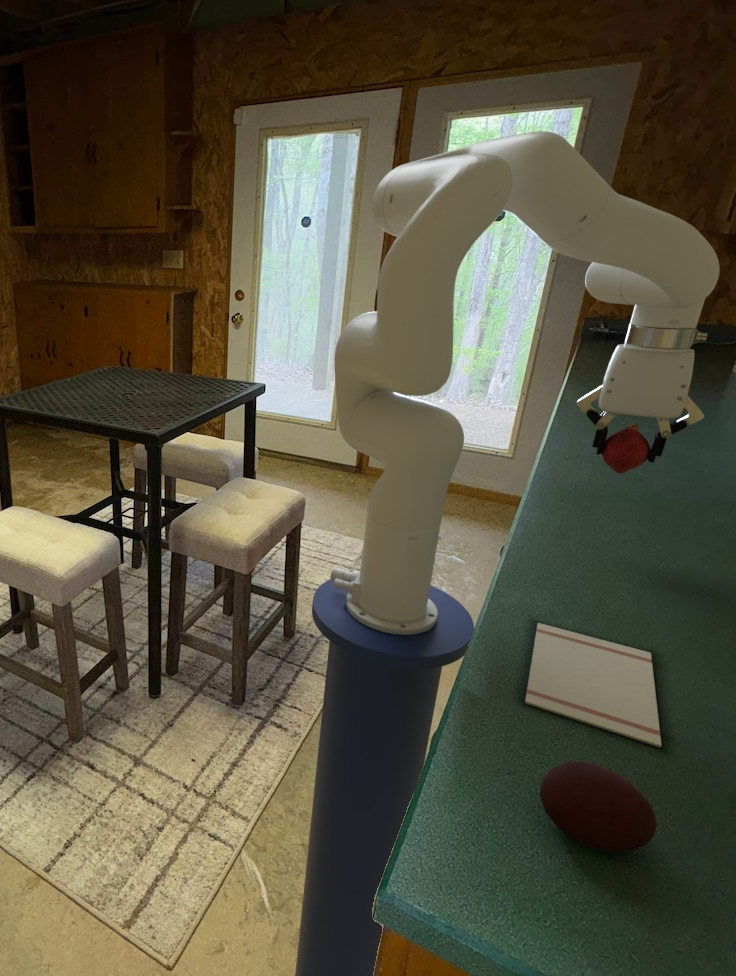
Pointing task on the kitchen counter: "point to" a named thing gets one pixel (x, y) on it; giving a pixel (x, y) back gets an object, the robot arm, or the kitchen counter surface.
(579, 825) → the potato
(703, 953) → the kitchen counter surface
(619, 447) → the pomegranate
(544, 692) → the napkin
